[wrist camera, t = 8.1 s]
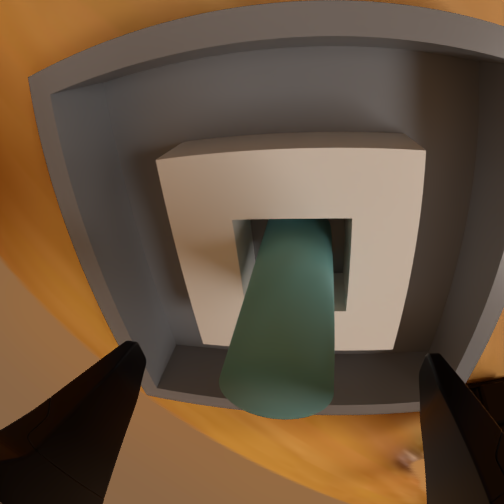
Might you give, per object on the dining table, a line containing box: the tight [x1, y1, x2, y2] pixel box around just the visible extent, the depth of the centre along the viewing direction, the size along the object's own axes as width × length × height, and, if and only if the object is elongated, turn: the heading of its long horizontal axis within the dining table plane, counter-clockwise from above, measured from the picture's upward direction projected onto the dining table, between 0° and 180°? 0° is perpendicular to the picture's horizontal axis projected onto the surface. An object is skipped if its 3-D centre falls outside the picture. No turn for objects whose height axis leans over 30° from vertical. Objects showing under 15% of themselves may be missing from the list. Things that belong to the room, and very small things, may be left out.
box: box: [28, 0, 504, 415], centre depth 15 cm, size 20×20×5 cm
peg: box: [219, 218, 335, 419], centre depth 12 cm, size 3×3×9 cm
